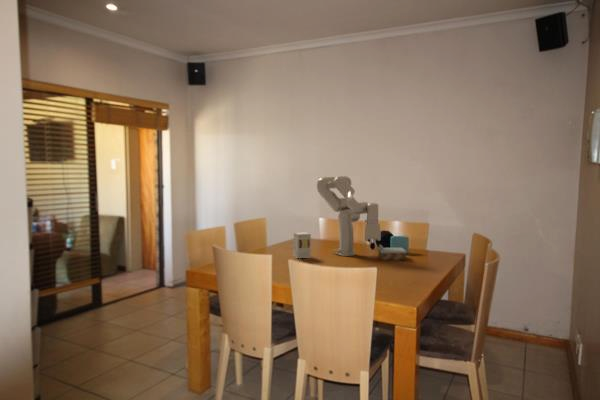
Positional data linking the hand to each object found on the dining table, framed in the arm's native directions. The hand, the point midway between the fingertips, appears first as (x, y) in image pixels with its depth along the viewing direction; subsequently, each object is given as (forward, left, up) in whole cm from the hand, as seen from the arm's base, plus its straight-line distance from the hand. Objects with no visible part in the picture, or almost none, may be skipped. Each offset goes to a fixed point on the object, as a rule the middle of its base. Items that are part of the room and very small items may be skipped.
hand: (372, 249), depth 280 cm
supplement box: (-47, +4, -7) cm, 48 cm away
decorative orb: (+14, +32, -7) cm, 35 cm away
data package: (+22, +19, -7) cm, 30 cm away
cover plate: (+13, 0, -3) cm, 13 cm away
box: (+13, 0, -7) cm, 14 cm away
